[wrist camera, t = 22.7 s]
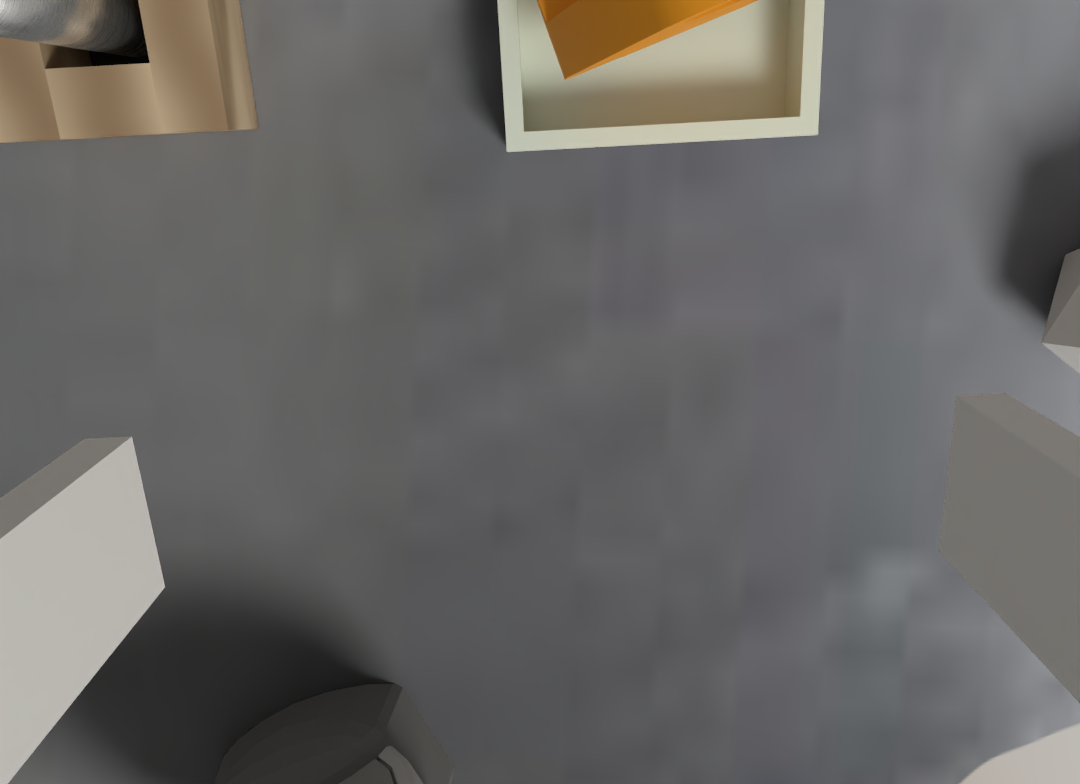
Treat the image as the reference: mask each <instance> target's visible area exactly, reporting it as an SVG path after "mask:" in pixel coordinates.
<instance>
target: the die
mask: <svg viewBox="0 0 1080 784" xmlns="http://www.w3.org/2000/svg"><path fill="white" fill-rule="evenodd" d="M1041 343H1042V344H1043V345H1045V346H1046V347H1047V348H1048V349H1050V350H1051V351H1052V352H1053V353H1054V354H1056V355H1057V356H1058V357H1059V358H1061V359H1062V360H1063V361H1064V362H1066V363H1067V364H1068V365H1069V366H1071V367H1072V368H1073V369H1074V370H1076V371H1077V372H1078V373H1079V374H1080V248H1079V249H1077V250H1075V251H1073V252H1070V253H1068V254H1066V255H1065V258H1064V261H1063V265H1062V269H1061V272H1060V276H1059V280H1058V283H1057V287H1056V290H1055V294H1054V298H1053V301H1052V305H1051V309H1050V312H1049V316H1048V320H1047V323H1046V327H1045V331H1044V334H1043V338H1042V341H1041Z"/></svg>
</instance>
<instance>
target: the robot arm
mask: <svg viewBox="0 0 1080 784" xmlns="http://www.w3.org/2000/svg"><path fill="white" fill-rule="evenodd" d="M939 551H940V553H941V554H942V555H943V556H944V557H945V558H946V559H947V560H948V561H949V562H950V563H951V564H952V565H953V567H954V568H955V569H956V570H957V571H958V572H959V573H960V574H961V575H962V576H963V577H964V578H965V580H966V581H967V582H968V583H969V584H970V585H971V586H972V587H973V588H974V589H975V590H976V591H977V593H978V594H979V595H980V596H981V597H982V598H983V599H984V600H985V601H986V602H987V603H988V604H989V606H990V607H991V608H992V609H993V610H994V611H995V612H996V613H997V614H998V615H999V616H1000V617H1001V618H1002V620H1003V621H1004V622H1005V623H1006V624H1007V625H1008V626H1009V627H1010V628H1011V629H1012V630H1013V631H1014V633H1015V634H1016V635H1017V636H1018V637H1019V638H1020V639H1021V640H1022V641H1023V642H1024V643H1025V644H1026V646H1027V647H1028V648H1029V649H1030V650H1031V651H1032V652H1033V653H1034V654H1035V655H1036V656H1037V657H1038V659H1039V660H1040V661H1041V662H1042V663H1043V664H1044V665H1045V666H1046V667H1047V668H1048V669H1049V670H1050V671H1051V673H1052V674H1053V675H1054V676H1055V677H1056V678H1057V679H1058V680H1059V681H1060V682H1061V683H1062V684H1063V686H1064V687H1065V688H1066V689H1067V690H1068V691H1069V692H1070V693H1071V694H1072V695H1073V696H1074V697H1075V699H1076V700H1077V701H1078V702H1079V703H1080V437H1079V436H1077V435H1075V434H1073V433H1072V432H1070V431H1068V430H1067V429H1065V428H1063V427H1062V426H1060V425H1058V424H1057V423H1055V422H1053V421H1051V420H1050V419H1048V418H1046V417H1045V416H1043V415H1041V414H1040V413H1038V412H1036V411H1034V410H1033V409H1031V408H1029V407H1028V406H1026V405H1024V404H1023V403H1021V402H1019V401H1017V400H1016V399H1014V398H1012V397H1011V396H1009V395H1007V394H1006V393H999V394H979V395H959V396H956V401H955V411H954V420H953V429H952V438H951V447H950V456H949V465H948V475H947V484H946V493H945V502H944V511H943V520H942V529H941V538H940V548H939ZM164 588H165V585H164V580H163V575H162V571H161V566H160V562H159V557H158V553H157V548H156V544H155V539H154V535H153V530H152V526H151V521H150V517H149V512H148V508H147V503H146V499H145V494H144V490H143V485H142V481H141V476H140V472H139V467H138V462H137V458H136V453H135V449H134V444H133V440H132V437H114V438H94V439H84V440H82V441H81V442H79V443H78V444H77V445H75V446H74V447H72V448H71V449H70V450H68V451H67V452H65V453H64V454H62V455H61V456H60V457H58V458H57V459H55V460H54V461H52V462H51V463H50V464H48V465H47V466H45V467H44V468H42V469H41V470H40V471H38V472H37V473H35V474H34V475H32V476H31V477H30V478H28V479H27V480H25V481H24V482H23V483H21V484H20V485H18V486H17V487H15V488H14V489H13V490H11V491H10V492H8V493H7V494H5V495H4V496H3V497H1V498H0V784H8V783H9V781H10V780H11V779H12V778H13V776H14V775H15V774H16V773H17V771H18V770H19V769H20V768H21V766H22V765H23V764H24V763H25V761H26V760H27V759H28V758H29V756H30V755H31V754H32V753H33V751H34V750H35V749H36V748H37V746H38V745H39V744H40V743H41V742H42V740H43V739H44V738H45V737H46V735H47V734H48V733H49V732H50V730H51V729H52V728H53V727H54V725H55V724H56V723H57V722H58V720H59V719H60V718H61V717H62V715H63V714H64V713H65V712H66V710H67V709H68V708H69V707H70V705H71V704H72V703H73V702H74V700H75V699H76V698H77V697H78V695H79V694H80V693H81V692H82V690H83V689H84V688H85V687H86V685H87V684H88V683H89V682H90V680H91V679H92V678H93V677H94V675H95V674H96V673H97V672H98V670H99V669H100V668H101V667H102V665H103V664H104V663H105V662H106V660H107V659H108V658H109V657H110V655H111V654H112V653H113V652H114V650H115V649H116V648H117V647H118V645H119V644H120V643H121V642H122V640H123V639H124V638H125V637H126V635H127V634H128V633H129V632H130V630H131V629H132V628H133V627H134V625H135V624H136V623H137V622H138V620H139V619H140V618H141V617H142V615H143V614H144V613H145V612H146V610H147V609H148V608H149V607H150V605H151V604H152V603H153V602H154V600H155V599H156V598H157V597H158V595H159V594H160V593H161V592H162V590H163V589H164Z"/></svg>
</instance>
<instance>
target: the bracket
mask: <svg viewBox="0 0 1080 784" xmlns="http://www.w3.org/2000/svg"><path fill="white" fill-rule="evenodd" d="M755 1H758V0H537V3H538V6H539V9H540V12H541V14H542V17H543V20H544V23H545V26H546V28H547V31H548V34H549V37H550V40H551V42H552V45H553V48H554V51H555V54H556V56H557V59H558V62H559V65H560V68H561V70H562V73H563V76H564V79H565V80H567V79H569V78H572V77H574V76H577V75H579V74H581V73H584V72H586V71H589V70H591V69H593V68H596V67H598V66H601V65H603V64H606V63H608V62H610V61H613V60H615V59H618V58H620V57H621V58H622V57H624V56H626V55H629V54H631V53H634V52H636V51H638V50H641V49H643V48H646V47H648V46H650V45H653V44H655V43H658V42H660V41H663V40H665V39H667V38H670V37H672V36H675V35H677V34H679V33H682V32H684V31H687V30H689V29H691V28H694V27H696V26H699V25H701V24H704V23H706V22H708V21H711V20H713V19H716V18H718V17H720V16H723V15H725V14H728V13H730V12H733V11H735V10H737V9H740V8H742V7H745V6H747V5H749V4H751V3H753V2H755Z"/></svg>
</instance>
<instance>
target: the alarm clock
mask: <svg viewBox="0 0 1080 784" xmlns="http://www.w3.org/2000/svg"><path fill="white" fill-rule="evenodd" d="M453 771H454V766H453V764H452V762H451V761H450V759H449V758H448V756H447V755H446V753H445V752H444V750H443V749H442V747H441V746H440V744H439V743H438V741H437V740H436V738H435V736H434V735H433V733H432V732H431V730H430V729H429V727H428V726H427V724H426V723H425V721H424V720H423V718H422V717H421V715H420V714H419V712H418V710H417V709H416V707H415V706H414V704H413V703H412V701H411V700H410V698H409V697H408V695H407V694H406V692H405V691H404V689H403V688H402V687H400V686H398V685H396V684H393V683H391V684H365V685H360V686H354V687H349V688H344V689H339V690H334V691H329V692H326V693H323V694H320V695H317V696H314V697H311V698H308V699H305V700H302V701H299V702H296V703H294V704H292V705H290V706H288V707H286V708H284V709H283V710H281V711H279V712H277V713H275V714H273V715H272V716H270V717H268V718H266V719H264V720H263V721H261V722H260V723H259V724H258V725H256V726H255V727H254V728H252V729H251V730H250V731H248V732H247V733H246V734H244V735H243V736H242V737H241V738H239V739H238V740H237V741H236V742H235V744H234V745H233V746H232V747H231V748H230V749H229V750H228V752H227V753H226V754H225V755H224V756H223V759H222V762H221V765H220V768H219V770H218V773H217V776H216V779H215V782H214V784H450V783H451V780H452V777H453Z"/></svg>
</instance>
